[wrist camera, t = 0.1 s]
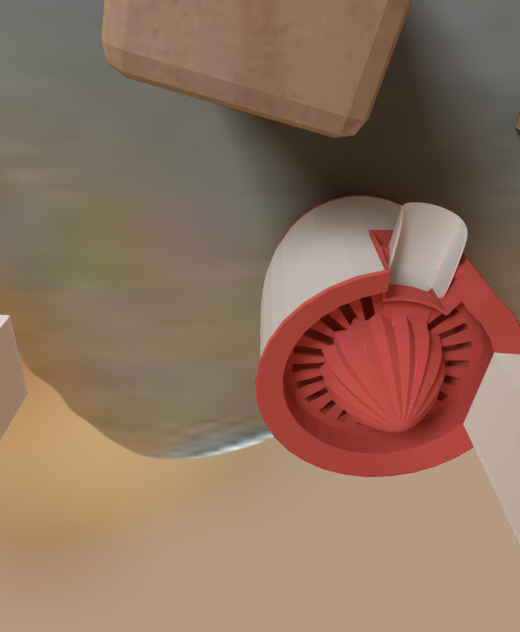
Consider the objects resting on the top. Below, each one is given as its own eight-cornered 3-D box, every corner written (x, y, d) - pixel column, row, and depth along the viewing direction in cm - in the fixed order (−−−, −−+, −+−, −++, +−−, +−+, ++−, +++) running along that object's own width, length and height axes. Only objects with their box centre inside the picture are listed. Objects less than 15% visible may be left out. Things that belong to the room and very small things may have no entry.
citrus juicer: (482, 174, 39) (648, 310, 22) (397, 346, 48) (469, 535, 31) (290, 124, 37) (313, 232, 20) (240, 314, 46) (227, 496, 29)
